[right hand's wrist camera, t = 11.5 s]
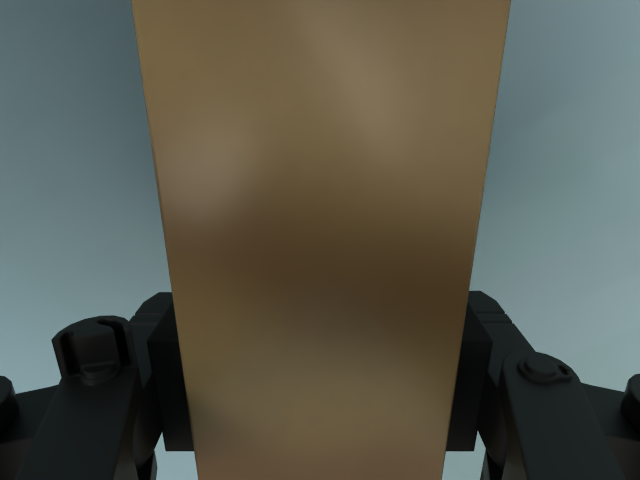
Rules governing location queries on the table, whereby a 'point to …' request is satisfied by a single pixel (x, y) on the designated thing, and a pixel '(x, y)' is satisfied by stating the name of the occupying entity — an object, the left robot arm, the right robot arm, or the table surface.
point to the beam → (320, 222)
